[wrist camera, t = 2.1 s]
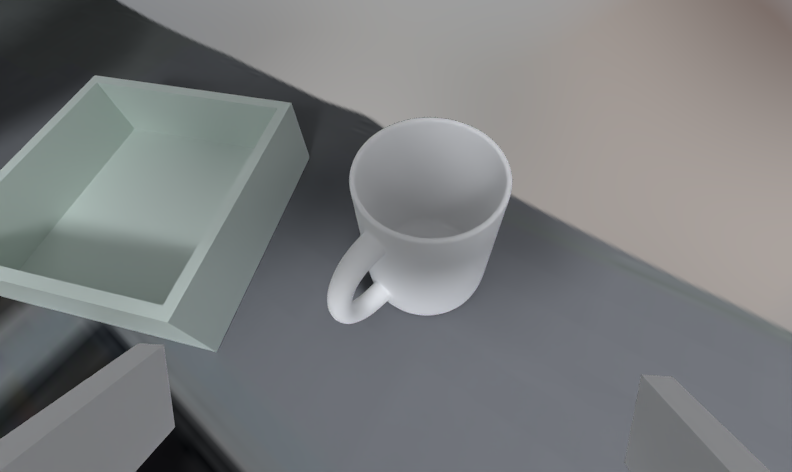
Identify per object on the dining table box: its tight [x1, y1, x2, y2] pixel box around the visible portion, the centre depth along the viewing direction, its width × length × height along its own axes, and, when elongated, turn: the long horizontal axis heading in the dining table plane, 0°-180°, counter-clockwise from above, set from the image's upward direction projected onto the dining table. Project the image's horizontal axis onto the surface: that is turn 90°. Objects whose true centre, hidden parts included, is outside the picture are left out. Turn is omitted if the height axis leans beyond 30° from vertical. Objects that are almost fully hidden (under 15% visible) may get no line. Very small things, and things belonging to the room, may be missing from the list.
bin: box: [0, 75, 310, 352], centre depth 29 cm, size 18×18×6 cm
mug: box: [327, 117, 512, 324], centre depth 23 cm, size 12×8×10 cm
